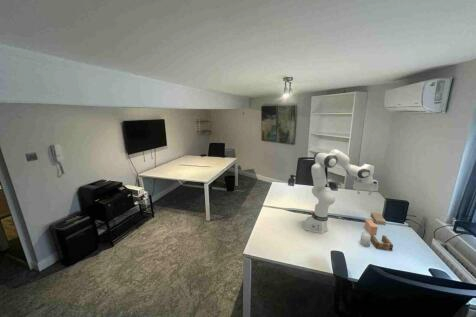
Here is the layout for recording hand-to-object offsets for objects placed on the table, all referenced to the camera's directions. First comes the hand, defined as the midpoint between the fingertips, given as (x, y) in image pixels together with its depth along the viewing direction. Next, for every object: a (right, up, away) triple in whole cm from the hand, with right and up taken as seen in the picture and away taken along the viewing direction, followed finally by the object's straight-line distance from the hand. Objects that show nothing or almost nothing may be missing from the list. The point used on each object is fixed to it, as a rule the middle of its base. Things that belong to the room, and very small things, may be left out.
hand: (364, 194), depth 176 cm
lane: (-3, -37, -24) cm, 44 cm away
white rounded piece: (-15, -37, -23) cm, 46 cm away
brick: (+21, -29, +10) cm, 37 cm away
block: (+1, -32, -6) cm, 33 cm away
